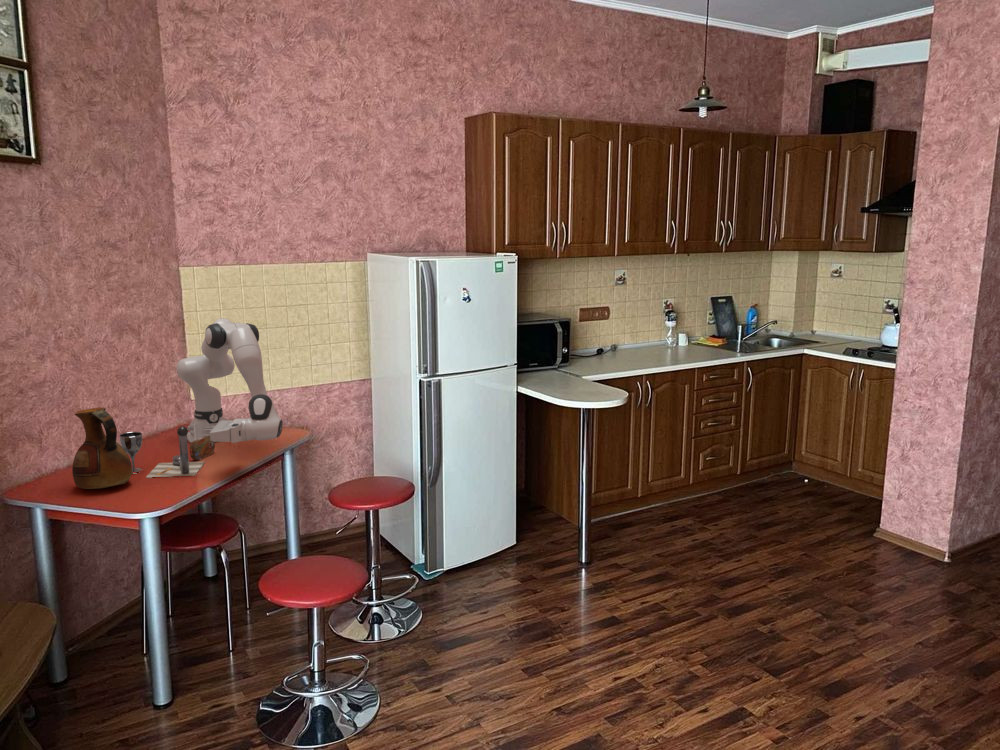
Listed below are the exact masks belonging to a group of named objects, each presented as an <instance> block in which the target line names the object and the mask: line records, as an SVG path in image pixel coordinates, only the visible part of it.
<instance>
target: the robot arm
mask: <svg viewBox="0 0 1000 750" xmlns="http://www.w3.org/2000/svg"><path fill="white" fill-rule="evenodd" d="M259 340H260V332H259V329H258V327H257V326H256V325H255V324H251V323H247V322H246V323H241V322H232V321H231V320H230V319H227V318H218V319H216V320H215V321H214V322H213V323H211V324H209V325H208V326H207V327H206V329H205V332H204V339H203V341H202V343H201V347H200V349H201V353H202V354H203V355H195V356H193V355H192V356H188V357H185V358H182V359H180V360H179V361H178V362H177V365H176V368H175V369H176V374H177V376H178V378H179V379H180V380H181V381H183V382H185V383H187V385H188V386H189V387H190V388H191V390H192V393H193V399H194V406H195V409H194V412H193V413H194V414H193V417H194V418H193V419H192V420H191V422H190V423H189V425H187V427H186V428H187V429H188V434H187V442H189V443H192V442H193V441H195V440H197V439H199V438H201V437H203V436H210V441H214V442H215V443H217V442H218V443H229V442H231V443H232V444H236V443H239V442H249V441H253V440H254V441H256V440H257V441H268V440H269V441H270V440H274V439H277V438H279V437H280V436H281V434H282V431H283V425H284V424H283V420H282V418H281V417H280V415H279V414H278V412H277V410H276V408H275V403H274V402H273V400H272V399H271V397H270V396H268V394H267V390H266V386H265V381H264V371H263V369H264V368H263V367H264V366H263V357H262V351H261V347H260V345H259ZM229 350H231V351H230V352H231V354H232V356H231V355H230V354H228V353H229ZM232 357H233V358H232ZM235 366H236V368H237V370H238V372H239V373H240V375H241V376H242V378H243V379H244V381H245V383H246V384H247V387H248V390H249V393H250V396H251V398H250V399H249V401H248V412H249V417H247V418H246V417H245V418H233V419H234V420H231V419H228V420H227V419H226V418H225V417H223V415H224V409H223V407H222V398H221V396H222V395H221V391H220V390H219V389H218V388H216V387H214V386H211V385H210V384H209V380H213V379H219V378H224V377H227V376H230V375H232V374H233V372H234V370H235Z"/></svg>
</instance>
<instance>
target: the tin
mask: <svg viewBox="0 0 1000 750" xmlns="http://www.w3.org/2000/svg"><path fill="white" fill-rule="evenodd" d="M215 443H216V442H214V441H210V436H203V437H201V438H199V439H197V440H195V441H193V442H190V445H189V455H190V458H191V459H192V460H194V461H201V460H200V459H202V460H203V458H204V459H206V458H208V457H210V456H211V455H212V454H214V451H215V448H216V447H215V445H216V444H215Z"/></svg>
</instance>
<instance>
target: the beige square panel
mask: <svg viewBox="0 0 1000 750" xmlns="http://www.w3.org/2000/svg"><path fill="white" fill-rule="evenodd" d="M204 463H206V461H189V473H181V468H180V466H179V465H174V464H173V462H159V463H157V465H155V467H154V468H152V470H151V471H150V472H149V473H148V474H147V475H146V476H145V477H146V479H153V478H152V477H169V478H174V477H173V476H195V475H196V474H197V475H198V473H199V472H200V471H199V470H201V469H202V468H203V467H204V465H205V464H204ZM202 466H203V467H202ZM201 467H202V468H201ZM198 471H199V472H198ZM197 472H198V473H197ZM197 475H196V476H197ZM196 476H195V477H196Z"/></svg>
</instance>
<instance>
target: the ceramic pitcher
mask: <svg viewBox="0 0 1000 750" xmlns="http://www.w3.org/2000/svg"><path fill="white" fill-rule="evenodd" d="M73 415H74V416H76V417H77V418H78V419H79V420H80V422H81V423H82V425H83V428H84V432H85V439H84V441H83V443H82V444H81V445H80V446H79V448H78V449H77V451H76V453H75V455H74V458H73V461H72V472H71V473H72V478H73V482H74V485H75V486H76V487H77V488H80V489H84V490H85V489H86V490H96V489H98V490H99V489H105V488H110V487H115V486H118V485H119V486H120V485H123V484H126V483H127V482H128V481H129V480H130V479H131V478H132V475H133V474H132V460H131V457H130V456H129V454H128V453H126V451H125V450H124V449H123V447H122V446H121V444H120V443H118V442H117V436H118V429H117V425H116V423H115V421H114V418H113V416H112V415H110V414H109V413H108V411H106V407H103V406H102V407H93V408H85V409H82V410H81V409H80V410H78V411H75V413H74V414H73ZM103 429H104V430H103Z"/></svg>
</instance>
